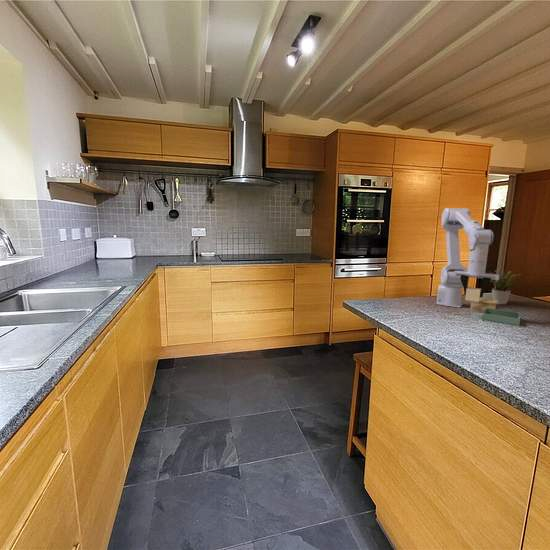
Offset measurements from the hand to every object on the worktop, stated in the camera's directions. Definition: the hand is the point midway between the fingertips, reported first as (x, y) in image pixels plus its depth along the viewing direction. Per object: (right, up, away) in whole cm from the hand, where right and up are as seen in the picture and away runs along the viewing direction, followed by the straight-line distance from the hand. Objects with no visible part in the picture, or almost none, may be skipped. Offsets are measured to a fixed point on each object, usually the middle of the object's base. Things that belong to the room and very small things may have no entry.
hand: (473, 295), depth 117 cm
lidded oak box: (+10, -7, +9) cm, 15 cm away
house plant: (+30, -5, +24) cm, 38 cm away
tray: (+9, -9, -2) cm, 13 cm away
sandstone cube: (0, -2, 0) cm, 2 cm away
